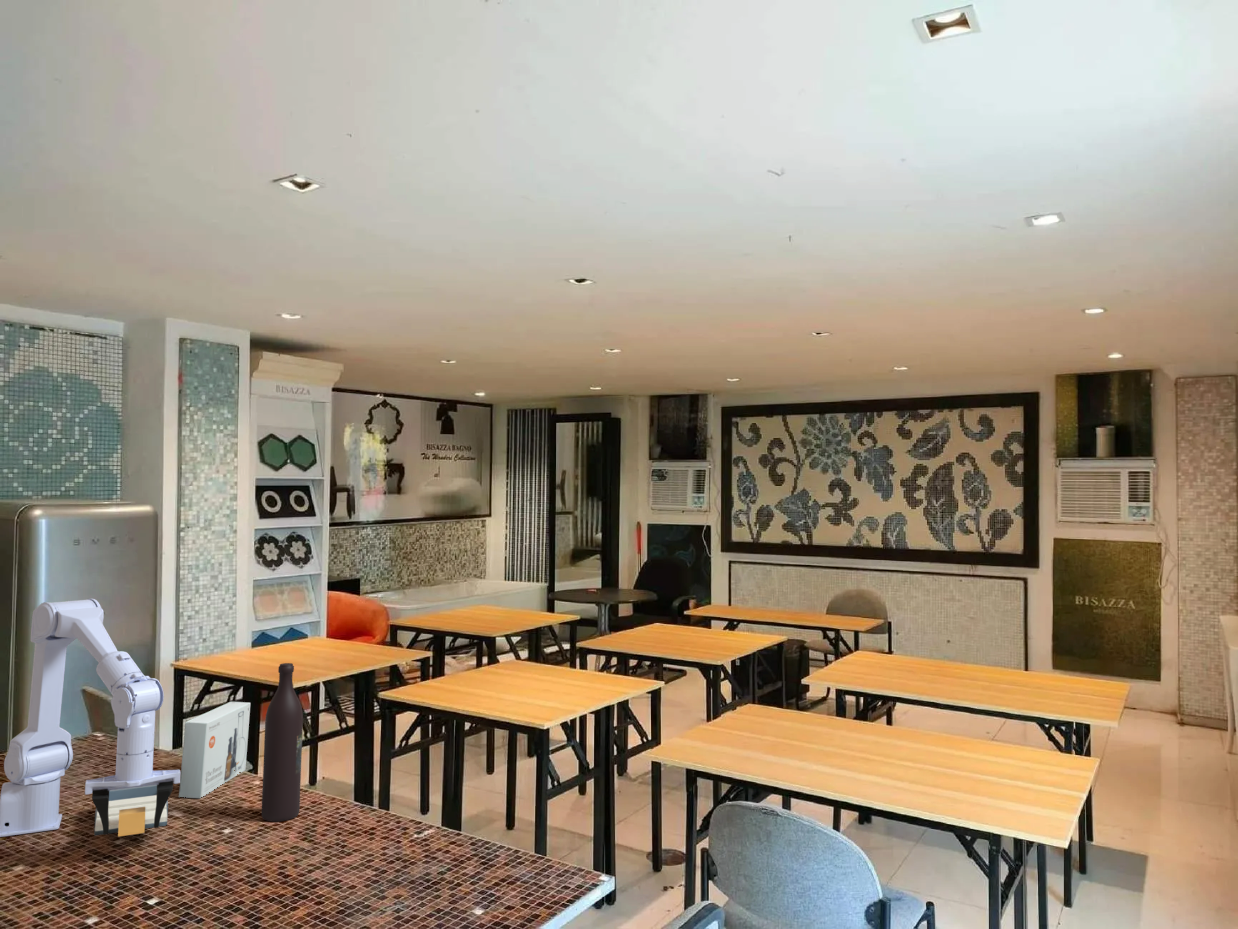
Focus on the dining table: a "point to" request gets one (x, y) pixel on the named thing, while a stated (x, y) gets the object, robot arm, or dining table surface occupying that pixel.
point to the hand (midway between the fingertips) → (131, 829)
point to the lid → (131, 815)
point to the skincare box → (214, 749)
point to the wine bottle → (282, 751)
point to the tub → (129, 794)
